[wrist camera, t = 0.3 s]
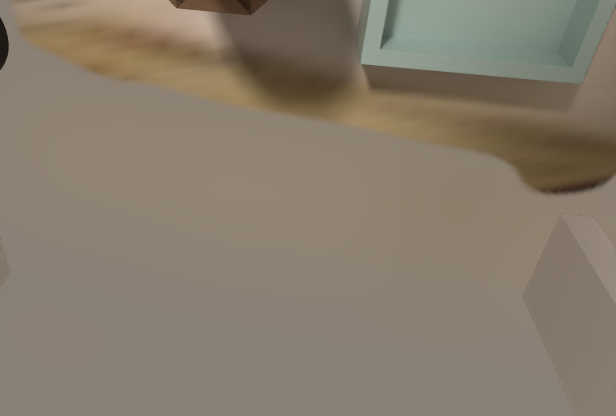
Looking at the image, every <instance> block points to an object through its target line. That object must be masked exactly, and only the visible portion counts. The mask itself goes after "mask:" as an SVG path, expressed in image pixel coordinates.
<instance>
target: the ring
mask: <svg viewBox="0 0 616 416" xmlns="http://www.w3.org/2000/svg"><path fill="white" fill-rule="evenodd" d="M169 1H170V2H171V3H172V4H173V5H174V6H175V7H176V8H180V9H190V10H200V11H211V12H221V13H232V14H242V15H252V14H253V13H254V12H255V11H256V10H257V9H258V8H260V7H261V6H262V5H263V4H264V3H265V2H266V1H267V0H169Z"/></svg>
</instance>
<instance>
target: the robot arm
mask: <svg viewBox="0 0 616 416" xmlns="http://www.w3.org/2000/svg"><path fill="white" fill-rule="evenodd" d="M10 273H11V267H10V264H9V261H8V259H7V256H6V253H5V250H4V247H3V244H2V242H1V239H0V289H1V288H2V286H3V284H4V283H5V281H6V279H7V278H8V276H9V274H10ZM523 298H524V300H525V302H526V304H527V307H528V309H529V311H530V314H531V316H532V318H533V320H534V323H535V325H536V327H537V330H538V332H539V334H540V337H541V339H542V341H543V344H544V346H545V348H546V350H547V353H548V355H549V357H550V359H551V362H552V364H553V366H554V369H555V371H556V373H557V376H558V378H559V380H560V382H561V385H562V387H563V389H564V392H565V394H566V396H567V398H568V400H569V403H570V405H571V408H572V410H573V412H574V415H575V416H616V250H615V248H614V247H613V246H612V244H611V243H610V241H609V240H608V238H607V237H606V235H605V234H604V232H603V231H602V229H601V228H600V227H599V225H598V223H597V222H596V221H595V219H594V218H593V216H580V215H562V214H561V215H560V217H559V219H558V222H557V224H556V226H555V228H554V230H553V233H552V234H551V237H550V239H549V241H548V243H547V245H546V247H545V249H544V252H543V254H542V256H541V258H540V260H539V262H538V264H537V267H536V269H535V271H534V273H533V275H532V277H531V279H530V282H529V284H528V286H527V288H526V290H525V292H524V295H523Z"/></svg>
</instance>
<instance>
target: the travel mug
mask: <svg viewBox="0 0 616 416" xmlns="http://www.w3.org/2000/svg"><path fill="white" fill-rule="evenodd" d="M8 46H9V43H8V36H7V32H6V29H5V26H4V24H3V22H2V20H1V18H0V70H1V68H2V67H3V65H4V64H5V61H6V59H7V56H8Z"/></svg>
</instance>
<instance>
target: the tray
mask: <svg viewBox="0 0 616 416" xmlns="http://www.w3.org/2000/svg"><path fill="white" fill-rule="evenodd" d="M615 5H616V0H363V3H362V9H361V15H360V22H359V28H358V35H357V41H356V46H357V51H358V55H359V60H360V64H366V65H377V66H388V67H399V68H410V69H421V70H432V71H443V72H454V73H465V74H476V75H487V76H498V77H509V78H520V79H531V80H542V81H552V82H563V83H574V84H582V81H583V79H584V77H585V74H586V72H587V70H588V67H589V65H590V63H591V60H592V58H593V56H594V54H595V51H596V49H597V47H598V44H599V42H600V40H601V37H602V35H603V33H604V30H605V28H606V26H607V24H608V21H609V19H610V17H611V14H612V12H613V10H614V7H615Z"/></svg>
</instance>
